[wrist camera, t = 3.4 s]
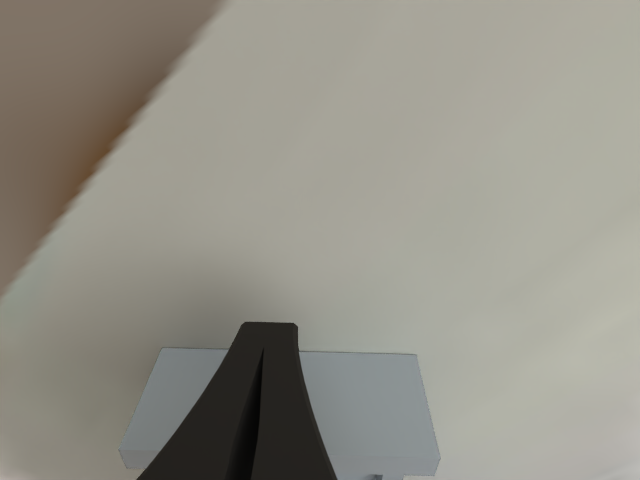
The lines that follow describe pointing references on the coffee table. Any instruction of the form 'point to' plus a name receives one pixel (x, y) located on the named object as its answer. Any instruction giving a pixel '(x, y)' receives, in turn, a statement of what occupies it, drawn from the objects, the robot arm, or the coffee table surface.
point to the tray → (327, 404)
